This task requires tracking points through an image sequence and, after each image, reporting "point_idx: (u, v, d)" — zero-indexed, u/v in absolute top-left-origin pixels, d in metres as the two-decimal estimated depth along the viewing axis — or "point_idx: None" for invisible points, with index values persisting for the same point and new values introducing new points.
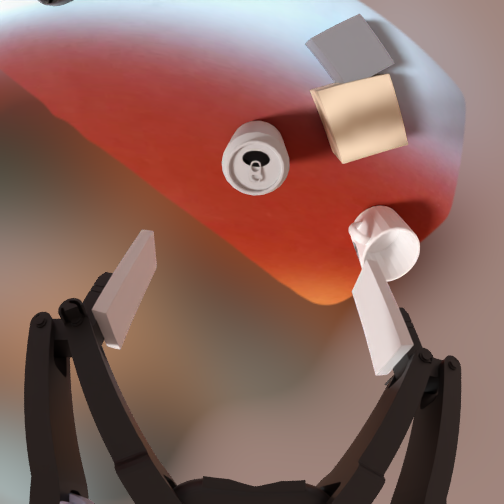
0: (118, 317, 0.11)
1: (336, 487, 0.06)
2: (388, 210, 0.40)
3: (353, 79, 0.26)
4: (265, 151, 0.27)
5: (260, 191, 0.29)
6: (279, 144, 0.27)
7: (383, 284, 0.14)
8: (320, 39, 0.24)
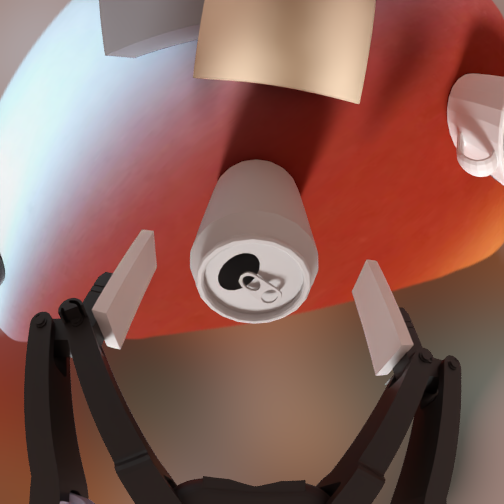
0: (118, 317, 0.11)
1: (336, 487, 0.06)
2: (467, 82, 0.14)
3: None
4: (233, 254, 0.14)
5: (299, 297, 0.15)
6: (238, 217, 0.14)
7: (383, 284, 0.14)
8: (112, 40, 0.12)
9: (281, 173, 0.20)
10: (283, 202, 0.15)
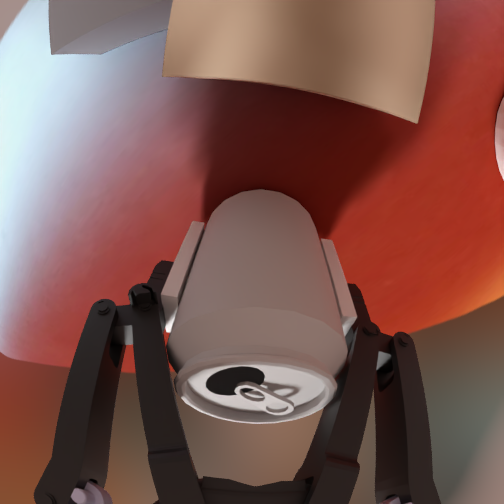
0: None
1: (312, 480, 0.06)
2: None
3: None
4: (226, 366, 0.09)
5: (317, 404, 0.10)
6: (231, 317, 0.08)
7: (334, 260, 0.15)
8: (59, 33, 0.07)
9: (296, 212, 0.15)
10: (302, 277, 0.10)
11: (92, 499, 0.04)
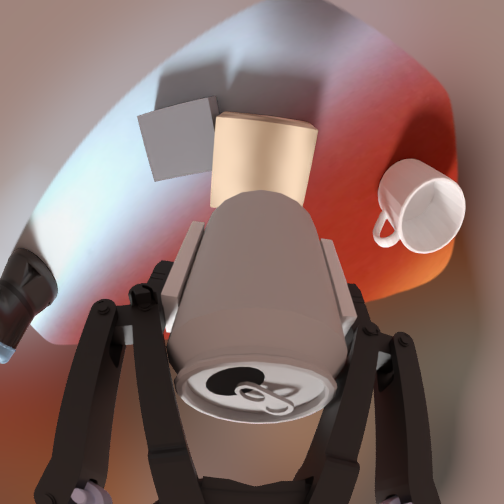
0: None
1: (312, 480, 0.06)
2: (392, 173, 0.30)
3: (212, 159, 0.27)
4: (226, 367, 0.09)
5: (317, 404, 0.10)
6: (231, 318, 0.08)
7: (334, 260, 0.15)
8: (158, 173, 0.28)
9: (296, 213, 0.15)
10: (302, 278, 0.10)
11: (92, 499, 0.04)
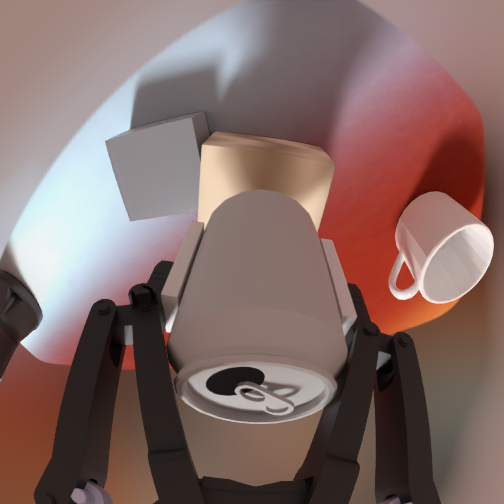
0: None
1: (312, 480, 0.06)
2: (415, 210, 0.25)
3: (198, 197, 0.22)
4: (226, 366, 0.09)
5: (317, 404, 0.10)
6: (231, 318, 0.08)
7: (334, 260, 0.15)
8: (133, 211, 0.23)
9: (296, 212, 0.15)
10: (302, 278, 0.10)
11: (92, 499, 0.04)
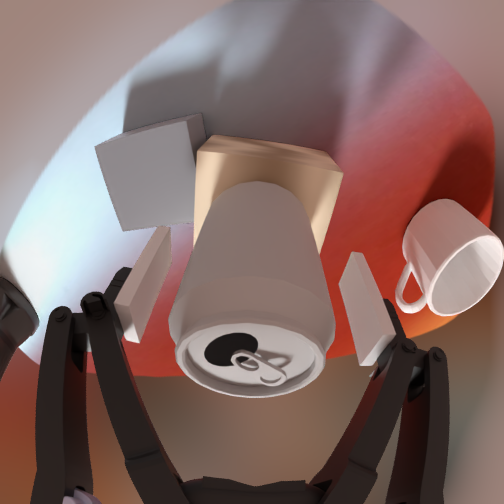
0: (139, 310, 0.12)
1: (329, 484, 0.06)
2: (424, 219, 0.23)
3: None
4: (222, 333, 0.10)
5: (308, 375, 0.11)
6: (227, 286, 0.09)
7: (367, 275, 0.14)
8: (125, 221, 0.21)
9: (289, 201, 0.16)
10: (292, 254, 0.11)
11: None
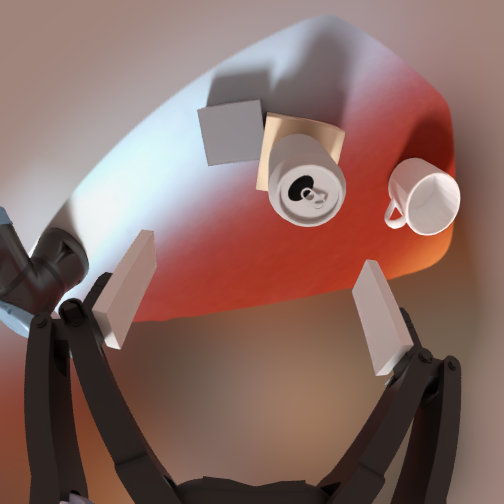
0: (118, 317, 0.11)
1: (336, 487, 0.06)
2: (401, 169, 0.36)
3: (260, 150, 0.34)
4: (299, 175, 0.23)
5: (336, 206, 0.24)
6: (301, 155, 0.22)
7: (383, 284, 0.14)
8: (212, 159, 0.35)
9: (317, 142, 0.29)
10: (324, 152, 0.24)
11: None
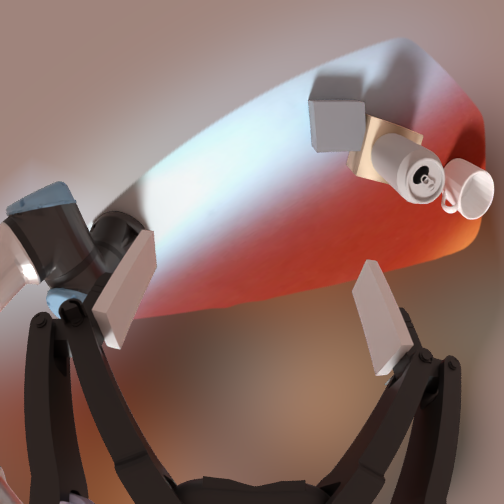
0: (118, 317, 0.11)
1: (336, 487, 0.06)
2: (451, 167, 0.40)
3: (361, 143, 0.37)
4: (421, 165, 0.26)
5: (439, 190, 0.27)
6: (422, 151, 0.26)
7: (383, 284, 0.14)
8: (321, 146, 0.38)
9: None
10: None
11: None
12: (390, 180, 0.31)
